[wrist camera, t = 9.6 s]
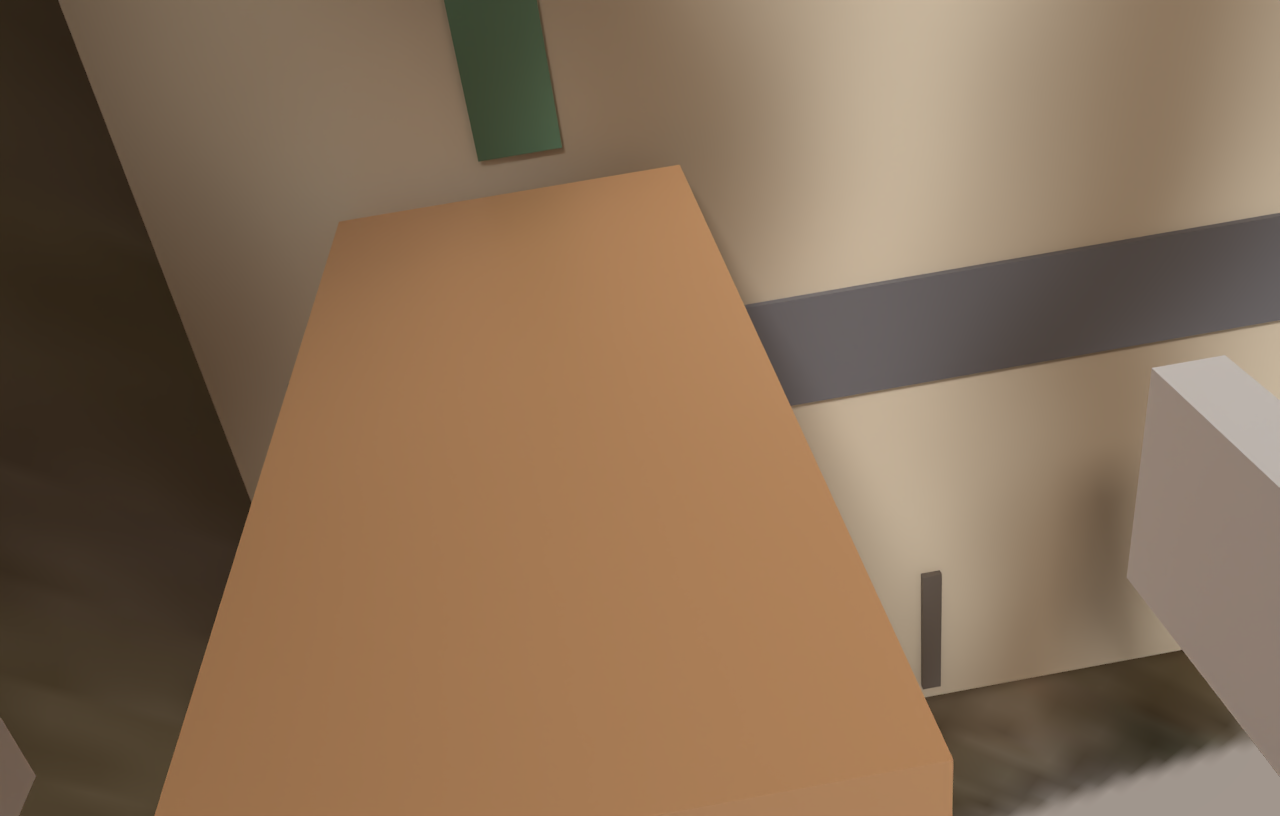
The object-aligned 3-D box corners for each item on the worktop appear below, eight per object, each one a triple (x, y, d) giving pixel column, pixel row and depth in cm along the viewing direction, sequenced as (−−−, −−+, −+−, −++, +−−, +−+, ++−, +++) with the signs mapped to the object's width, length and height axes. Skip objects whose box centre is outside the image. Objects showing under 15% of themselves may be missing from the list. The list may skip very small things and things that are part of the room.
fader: (451, 612, 16) (418, 1443, 8) (338, 221, 13) (112, 955, 5) (726, 563, 16) (952, 1333, 8) (679, 164, 13) (969, 792, 5)
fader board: (376, 711, 20) (365, 805, 18) (71, -146, 13) (4, -129, 11) (1600, 488, 21) (1705, 558, 19) (1956, -440, 14) (2176, -467, 12)
